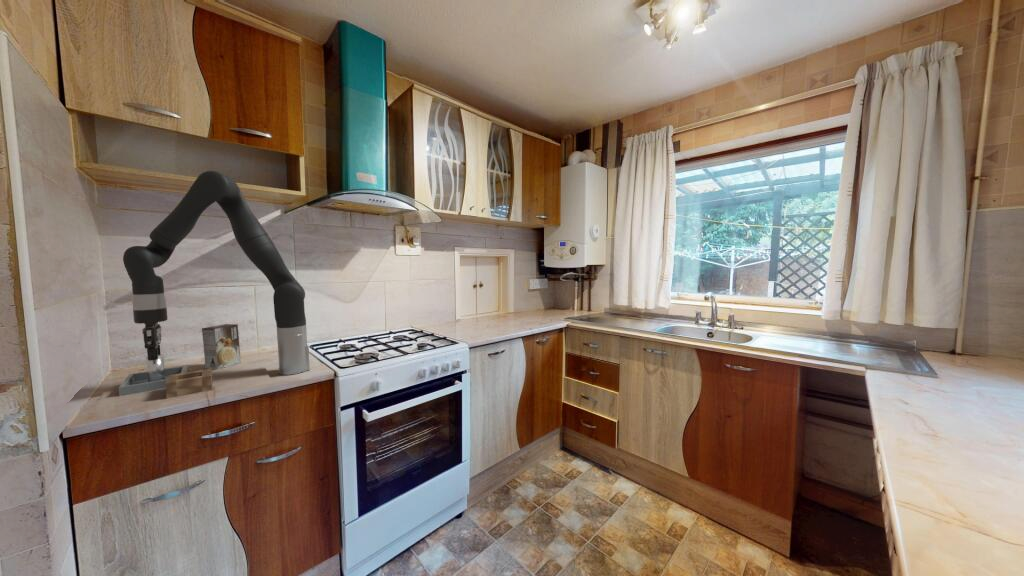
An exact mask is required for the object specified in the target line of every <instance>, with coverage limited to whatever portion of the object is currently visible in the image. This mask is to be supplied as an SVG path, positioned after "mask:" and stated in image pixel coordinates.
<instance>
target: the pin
mask: <svg viewBox="0 0 1024 576" xmlns="http://www.w3.org/2000/svg"><path fill="white" fill-rule="evenodd" d="M145 365H146V371H147V377H148V382H153V381H159V380H165V369H166V368H165V361H164V354H160V355H158V359H157V360H151V361H149V360H148V356H146V357H145Z"/></svg>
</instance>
